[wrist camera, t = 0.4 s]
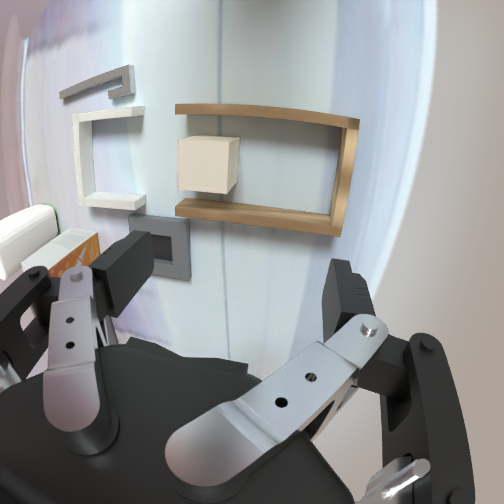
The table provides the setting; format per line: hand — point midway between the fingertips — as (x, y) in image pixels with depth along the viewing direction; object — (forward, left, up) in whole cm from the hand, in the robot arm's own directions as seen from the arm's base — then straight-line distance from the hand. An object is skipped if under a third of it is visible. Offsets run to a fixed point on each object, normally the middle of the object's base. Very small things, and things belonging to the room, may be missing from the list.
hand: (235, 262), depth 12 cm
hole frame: (+13, -15, -23) cm, 31 cm away
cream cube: (0, -7, -24) cm, 25 cm away
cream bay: (0, -22, -23) cm, 32 cm away
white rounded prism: (+11, -39, -24) cm, 47 cm away
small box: (+16, -30, -24) cm, 42 cm away
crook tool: (-10, -26, -23) cm, 36 cm away
